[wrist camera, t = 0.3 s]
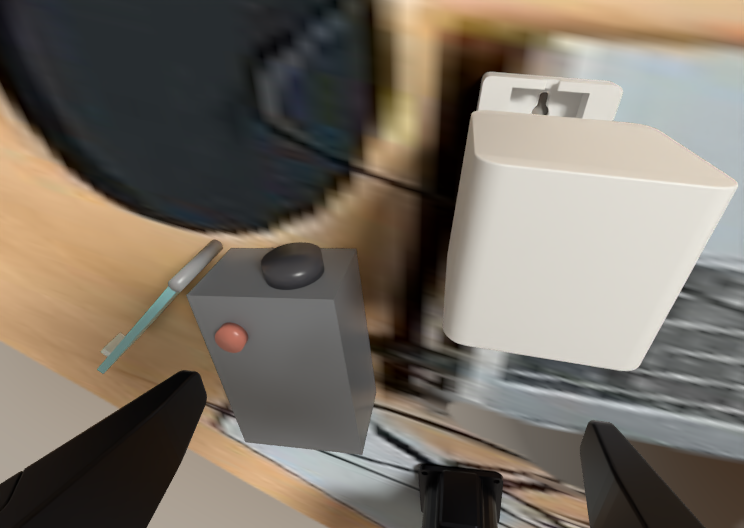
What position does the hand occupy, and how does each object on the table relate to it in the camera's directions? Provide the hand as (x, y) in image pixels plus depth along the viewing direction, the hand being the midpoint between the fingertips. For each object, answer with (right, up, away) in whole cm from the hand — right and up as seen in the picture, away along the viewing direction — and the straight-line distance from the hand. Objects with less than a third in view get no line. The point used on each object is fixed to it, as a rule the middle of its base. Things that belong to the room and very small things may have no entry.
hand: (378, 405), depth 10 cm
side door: (-14, +2, +19) cm, 23 cm away
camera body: (-4, -1, +19) cm, 19 cm away
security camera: (+7, +8, +10) cm, 15 cm away
